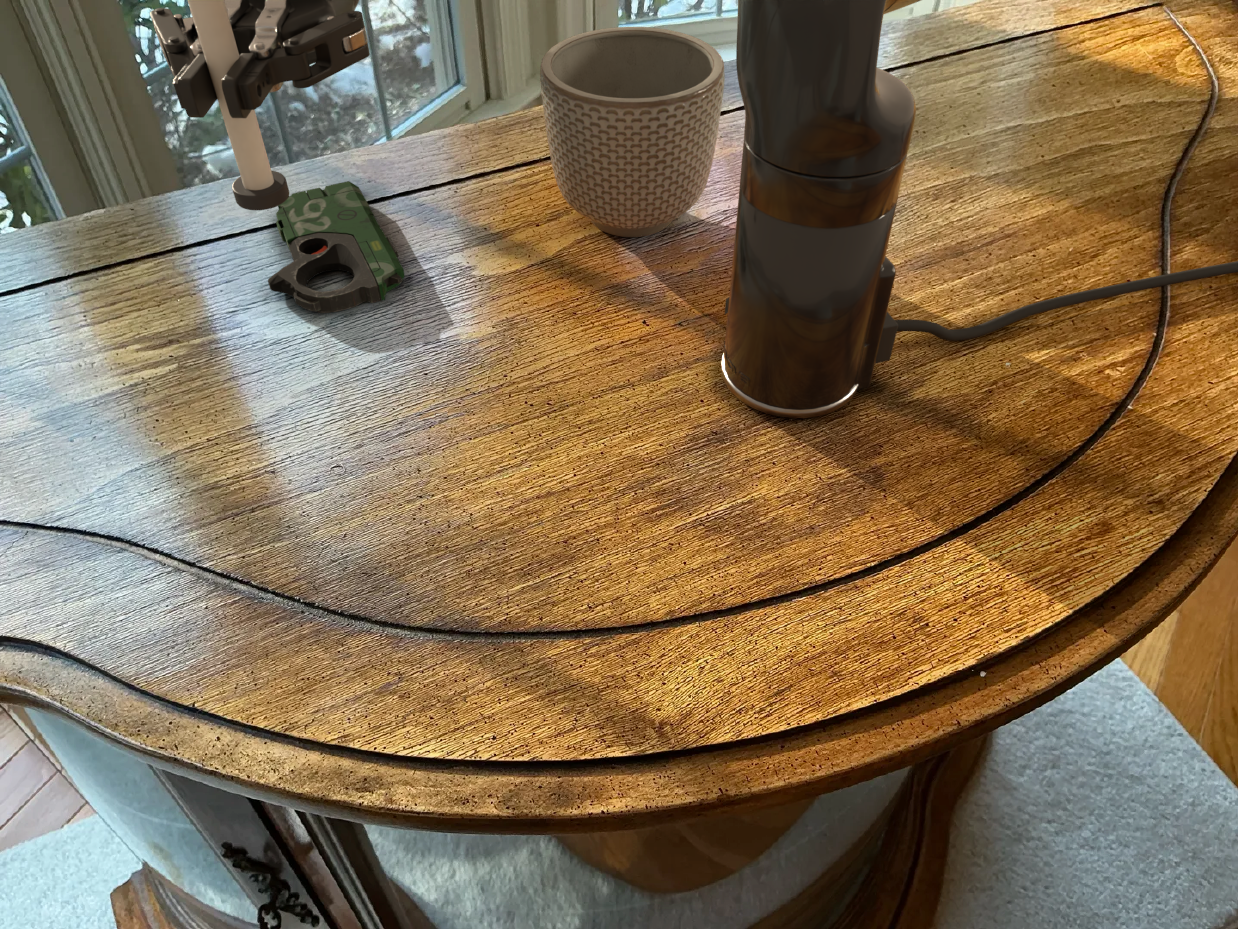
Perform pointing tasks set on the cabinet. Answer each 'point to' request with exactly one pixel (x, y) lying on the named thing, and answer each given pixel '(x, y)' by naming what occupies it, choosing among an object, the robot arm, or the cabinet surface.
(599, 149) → the planter
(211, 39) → the beige rod with base
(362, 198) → the gun
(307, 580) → the cabinet surface
